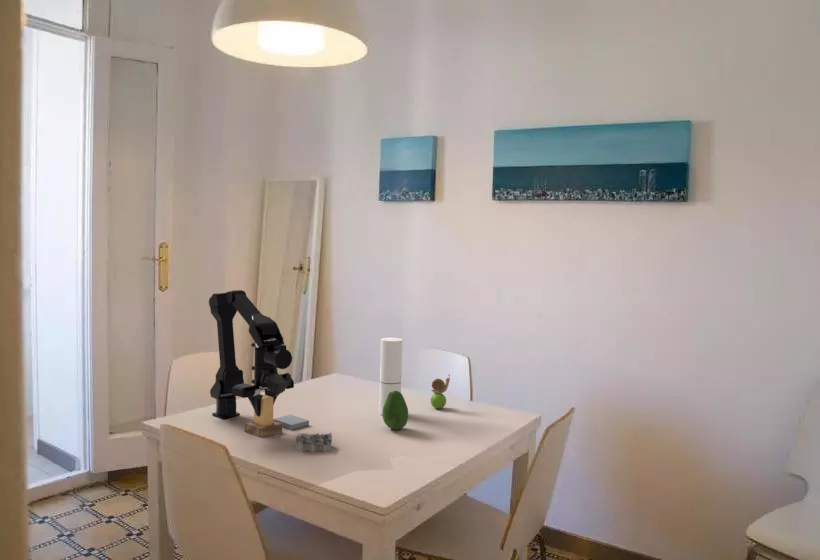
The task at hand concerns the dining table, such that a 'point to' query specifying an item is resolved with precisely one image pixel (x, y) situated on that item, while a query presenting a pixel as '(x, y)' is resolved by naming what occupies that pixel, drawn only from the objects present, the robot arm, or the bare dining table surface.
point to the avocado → (395, 411)
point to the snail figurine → (439, 393)
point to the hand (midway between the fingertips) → (263, 414)
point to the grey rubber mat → (292, 421)
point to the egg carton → (313, 442)
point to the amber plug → (265, 412)
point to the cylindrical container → (390, 368)
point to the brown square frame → (263, 429)
